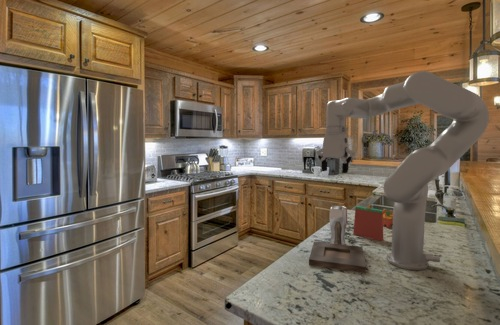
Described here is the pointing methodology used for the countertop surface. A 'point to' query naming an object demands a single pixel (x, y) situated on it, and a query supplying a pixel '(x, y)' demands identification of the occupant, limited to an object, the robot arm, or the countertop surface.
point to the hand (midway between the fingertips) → (334, 171)
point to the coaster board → (338, 257)
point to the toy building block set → (371, 222)
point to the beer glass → (338, 224)
